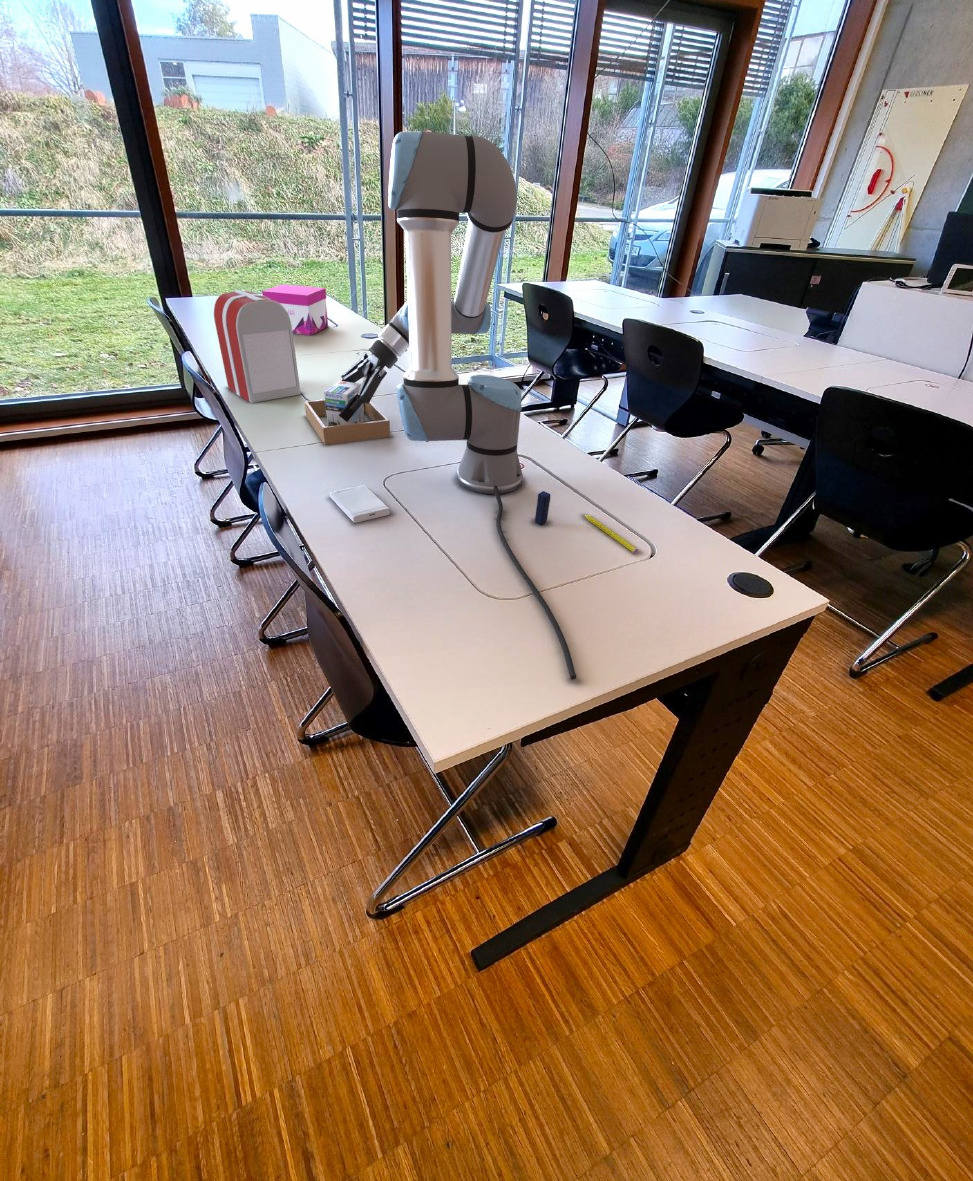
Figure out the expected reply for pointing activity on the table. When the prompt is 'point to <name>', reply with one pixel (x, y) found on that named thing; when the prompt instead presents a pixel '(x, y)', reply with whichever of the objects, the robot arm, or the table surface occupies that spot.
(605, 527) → the pencil
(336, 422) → the light bulb box
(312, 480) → the table surface
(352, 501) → the hard drive
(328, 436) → the shallow wooden tray
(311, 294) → the decorative box
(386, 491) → the table surface
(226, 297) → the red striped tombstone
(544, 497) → the navy blue rectangular block
